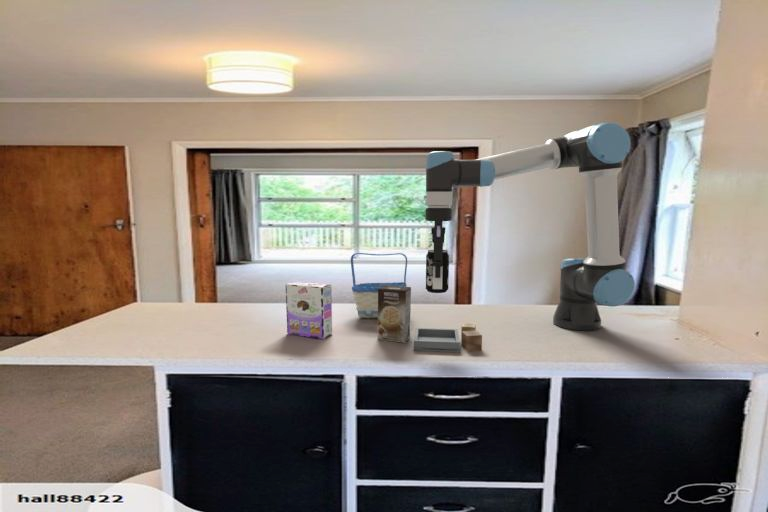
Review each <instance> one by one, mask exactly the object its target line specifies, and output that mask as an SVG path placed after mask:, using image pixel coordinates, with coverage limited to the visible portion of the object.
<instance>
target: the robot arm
mask: <svg viewBox="0 0 768 512" xmlns="http://www.w3.org/2000/svg"><path fill="white" fill-rule="evenodd" d="M630 149H631V138H630V135H629V132H627V130H626V129H625V128H624V127H623V126H621V125H620V124H619V123H615V122H601V123H597V124H594V125H591V126H587V127H584V128H579V129H576V130H574V131H571V132H569V133H566V134H564V135H561V136H558V137H555V138H551V139H548V140H546V141H545V143H544V144H539V145H534V146H529V147H526V148H521V149H517V150H516V149H515V150H513V151H509V152H508V151H507V152H504V153H500V154H494V155H490V156H486V157H481V158H477V159H456V158H454V153H453V152H452V151H444V150H439V151H437V150H436V151H431V152H428V154H427V155H426V164H425V194H426V195H425V194H424V195H423V199H425V206H427V207H426V208H425V210H424V211H425V214H424V215H425V217H424V218H425V221H427V222H434V226H432V227H431V229H430V230H431V236H432V237H431V243H432V244H433V249H434V262H433V264H431V266H433V289H442V274H443V266H442V265H443V250H444V248H443V247H444V243H445V235H446V227H445V226H443V222H450V221H451V222H452V219H453V216H452V215H453V209H452V208H451V206H453V188H454V189H461V188H469V187H470V188H471V187H480V188H483V187H490V186H491V185H493V183H494V181H495V180H500V179H504V178H509V177H513V176H517V175H521V174H526V173H530V172H533V171H535V172H536V171H541V170H544V169H548V168H549V169H550V170H558V169H563V168H578V173H579V175H580V176H582V177H583V178H584V185H585V186H584V190H585V212H586V231H587V232H586V233H587V234H586V235H587V236H586V237H587V254H588V256H587V257H585V258H580V257H579V258H565V259H563V260H562V261H561V267H560V281H559V282H560V284H559V285H560V286H559V289H560V290H559V302H558V304H557V305H556V309H555V311H554V313H553V317H552V323H553V324H554V325H555V326H557V327H560V328H564V329H568V330H574V331H583V332H584V331H585V332H586V331H597V330H599V329H601V328H602V319H601V315H600V311H599V307H598V305H600V306H607V307H611V308H612V307H617V306H621V305H623V304H625V303H626V302H627V301H628V299H630V298H631V297H632V296H633V293H634V291H635V286H636V282H635V278H634V277H633V275H632V274H631V273H630V272H629V271H627V270H626V269H627V268H626V265H627V263H626V259H625V258H623V256H621V255H620V254H621V252H620V231H619V205H618V204H619V201H618V177H617V176H618V174H619V173H620V172H621V171H622V169H623V160H625V158H626V157H627V155H629V153H630V151H631V150H630Z"/></svg>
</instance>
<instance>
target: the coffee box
mask: <svg viewBox="0 0 768 512" xmlns="http://www.w3.org/2000/svg"><path fill="white" fill-rule="evenodd" d="M411 301H412V288H411V286H406V287H404V286H393V285H383V286H381V287H380V288H378V318H377V337H376V338H377V340H379V339H380V340H382V341H387V340H388V341H390V342H397V343H398V342H399V343H406V342H407V341H408V339H409V338H410V337H411V313H412V312H411Z"/></svg>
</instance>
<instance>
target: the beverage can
mask: <svg viewBox="0 0 768 512" xmlns="http://www.w3.org/2000/svg"><path fill="white" fill-rule="evenodd" d="M425 258H426V259H425V290H426V291H427V292H429V293H433V294H443V293H444V294H445V293H446V292H447V291H449V282H450V281H449V277H450V255H449V253H448V250H447V249H443V265H442V266H443V274H442V289H433V266H431V264H433V262H434V248H433V249H428V250H427V254H426V255H425Z"/></svg>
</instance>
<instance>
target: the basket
mask: <svg viewBox="0 0 768 512" xmlns="http://www.w3.org/2000/svg"><path fill="white" fill-rule="evenodd" d="M355 255H367V256H368V255H369V256H394V255H396V256H397V255H402V256H403V257H404V258H405V265H404V277H403V281H402V282H395V281H394V282H367V283H366V282H365V283H359V284H358V283H357V282H356V274H355V267H354V266H355V265H354V257H355ZM350 265H351V266H350V267H351V274H352V275H351V276H352V286H351V290H352V294H353V298H354V299H353V300H354V301H355V305H356V311H357V314H358V317H359V319H360V318H361V319H363V318H364V319H365V318H369V319H370V318H371V319H374V318H375V319H378V288H380V287H381V286H383V285H393V286H404V287H407V283H406V282H407V281H406V280H407V277H406V276H407V267H408V257H407V255H406V254H404V253H402V252H397V253H368V252H367V253H365V252H356V253H353V254H352V255H351V257H350ZM356 283H357V284H356Z"/></svg>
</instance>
